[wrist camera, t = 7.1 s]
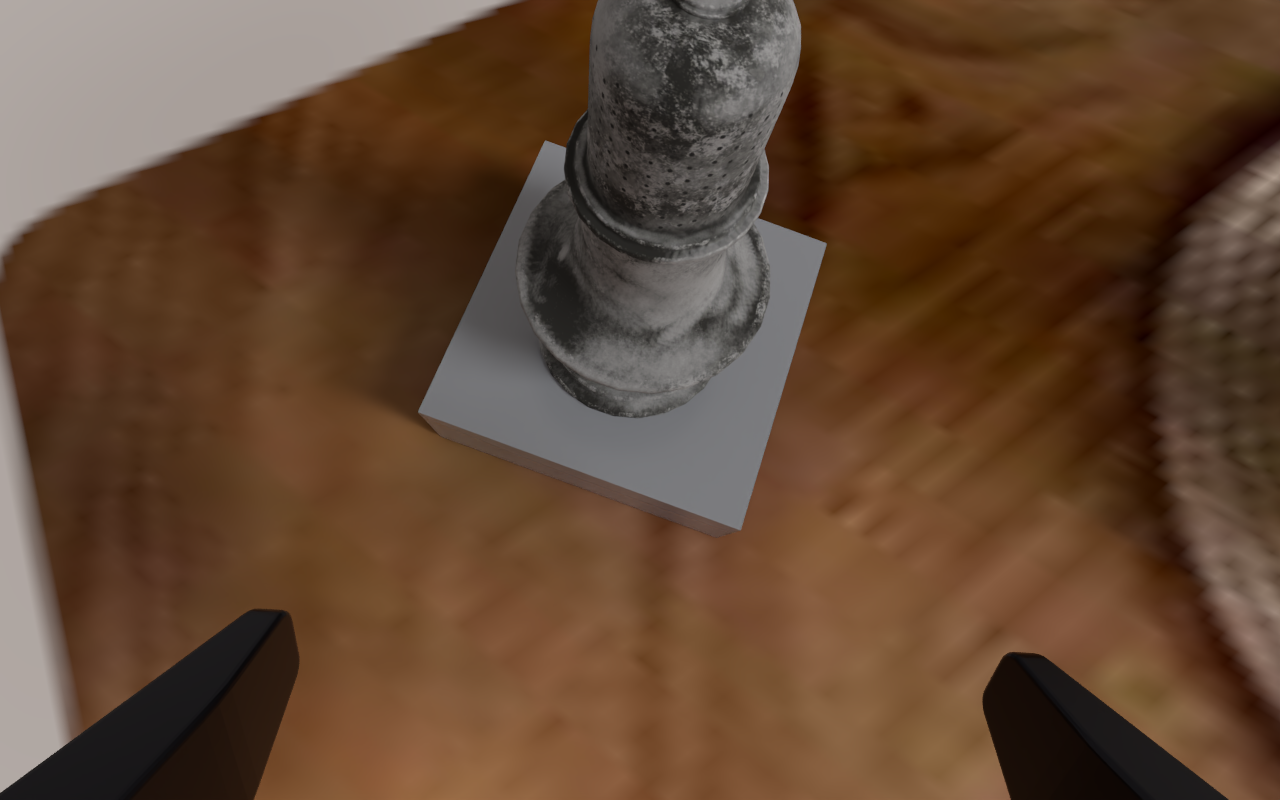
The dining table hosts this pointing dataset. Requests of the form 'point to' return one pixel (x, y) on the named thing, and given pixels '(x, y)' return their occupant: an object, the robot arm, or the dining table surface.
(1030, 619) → the dining table surface
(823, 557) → the dining table surface
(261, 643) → the robot arm
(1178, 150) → the dining table surface
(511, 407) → the rectangular block
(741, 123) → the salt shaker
